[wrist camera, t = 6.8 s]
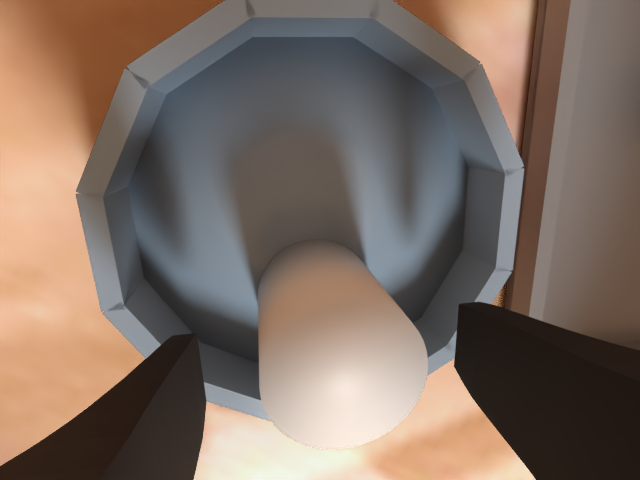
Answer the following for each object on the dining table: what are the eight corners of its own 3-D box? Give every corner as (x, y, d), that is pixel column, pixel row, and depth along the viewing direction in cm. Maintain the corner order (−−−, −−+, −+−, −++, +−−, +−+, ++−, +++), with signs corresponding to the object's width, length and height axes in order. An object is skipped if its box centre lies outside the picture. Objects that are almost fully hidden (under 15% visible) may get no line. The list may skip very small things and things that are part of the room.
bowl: (460, 349, 16) (498, 390, 13) (152, 390, 14) (130, 445, 12) (486, 20, 12) (544, -6, 10) (81, 18, 11) (29, -17, 8)
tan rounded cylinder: (369, 338, 14) (423, 436, 10) (261, 350, 14) (265, 460, 9) (371, 235, 13) (432, 292, 9) (253, 243, 13) (252, 308, 8)
